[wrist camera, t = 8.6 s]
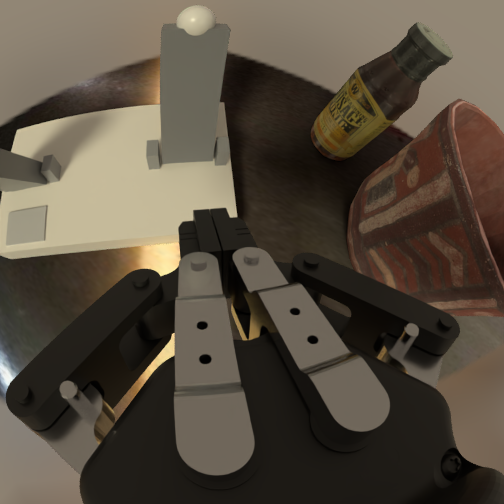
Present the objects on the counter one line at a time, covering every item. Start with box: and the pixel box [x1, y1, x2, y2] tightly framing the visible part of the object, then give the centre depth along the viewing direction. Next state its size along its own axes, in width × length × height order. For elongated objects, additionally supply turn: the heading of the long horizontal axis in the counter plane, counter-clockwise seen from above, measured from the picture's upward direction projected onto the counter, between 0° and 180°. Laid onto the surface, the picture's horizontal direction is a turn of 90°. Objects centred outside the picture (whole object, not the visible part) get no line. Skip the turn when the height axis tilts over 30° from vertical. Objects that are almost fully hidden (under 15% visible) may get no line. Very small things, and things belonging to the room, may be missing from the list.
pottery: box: [347, 99, 504, 317], centre depth 23 cm, size 18×18×18 cm
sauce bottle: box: [311, 22, 453, 161], centre depth 23 cm, size 7×6×20 cm
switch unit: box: [0, 102, 237, 259], centre depth 23 cm, size 14×24×5 cm, turn 98°
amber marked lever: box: [160, 5, 231, 164], centre depth 18 cm, size 3×4×14 cm, turn 97°
